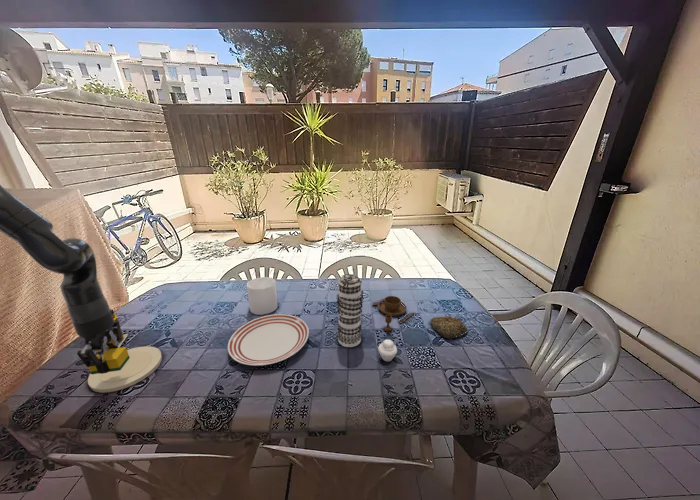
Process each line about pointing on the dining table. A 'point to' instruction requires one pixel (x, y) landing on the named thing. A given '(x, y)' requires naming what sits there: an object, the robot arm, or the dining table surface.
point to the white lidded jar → (387, 350)
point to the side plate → (128, 370)
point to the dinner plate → (268, 339)
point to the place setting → (391, 309)
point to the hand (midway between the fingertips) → (110, 364)
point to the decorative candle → (349, 310)
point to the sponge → (113, 359)
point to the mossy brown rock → (448, 326)
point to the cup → (262, 295)
